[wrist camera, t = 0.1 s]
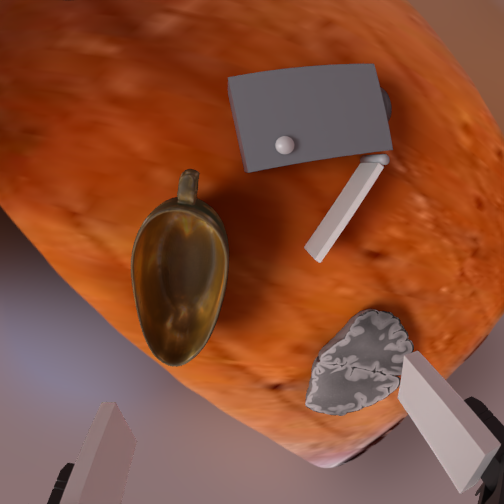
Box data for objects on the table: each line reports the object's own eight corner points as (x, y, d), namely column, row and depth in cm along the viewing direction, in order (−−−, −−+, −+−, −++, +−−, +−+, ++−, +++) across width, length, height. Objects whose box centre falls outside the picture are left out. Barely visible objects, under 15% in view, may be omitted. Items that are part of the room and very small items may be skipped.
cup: (278, 224, 39) (294, 243, 29) (190, 340, 42) (181, 385, 32) (192, 162, 36) (179, 160, 26) (112, 289, 39) (83, 323, 30)
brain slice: (369, 408, 49) (375, 419, 46) (287, 396, 46) (290, 408, 43) (425, 318, 45) (434, 326, 42) (342, 291, 42) (349, 299, 39)
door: (301, 245, 39) (313, 258, 34) (363, 153, 37) (383, 151, 31) (312, 252, 40) (325, 266, 34) (373, 161, 37) (394, 161, 31)
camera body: (228, 93, 34) (228, 75, 27) (361, 78, 34) (388, 62, 27) (244, 172, 37) (248, 172, 29) (377, 150, 37) (406, 148, 30)
